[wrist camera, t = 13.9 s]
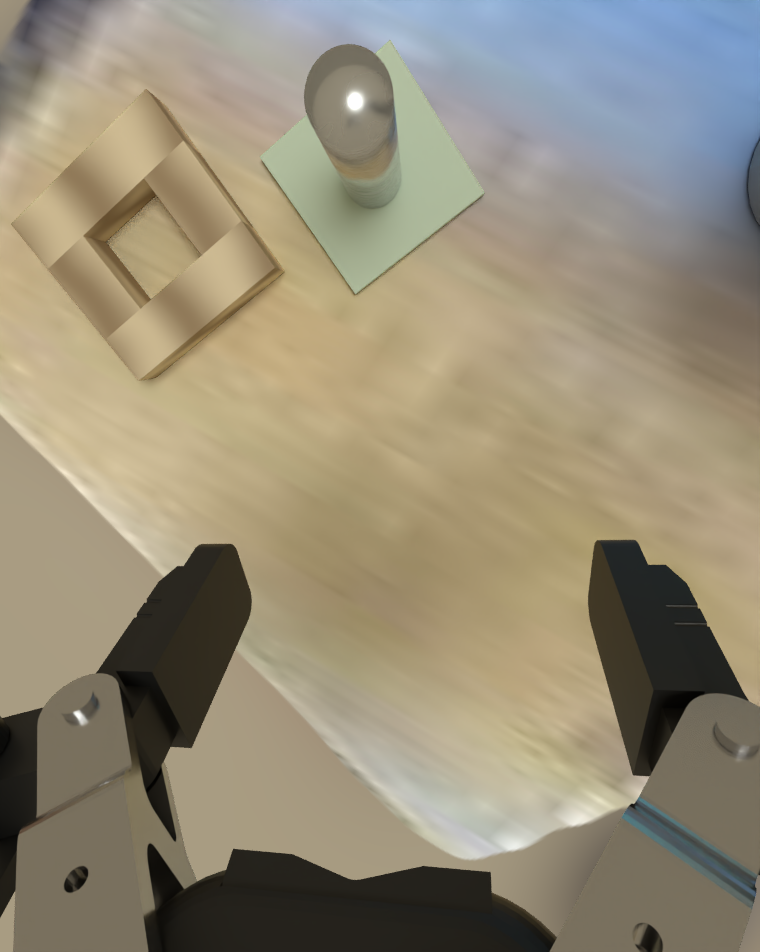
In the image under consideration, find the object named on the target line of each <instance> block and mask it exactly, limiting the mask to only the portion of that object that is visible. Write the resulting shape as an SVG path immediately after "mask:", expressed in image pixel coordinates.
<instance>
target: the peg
mask: <svg viewBox="0 0 760 952" xmlns="http://www.w3.org/2000/svg"><path fill="white" fill-rule="evenodd" d="M304 101H305V109H306V113H307V116H308V119H309V121H310V123H311V125H312V127H313V129H314V131H315V133H316V135H317V136H318V138H319V140H320V142H321V144H322V146H323V148H324V150H325V151H326V153H327V155H328V157H329V159H330V161H331V163H332V164H333V166H334V168H335V170H336V172H337V174H338V176H339V178H340V179H341V181H342V183H343V185H344V187H345V189H346V191H347V193H348V194H349V196H350V197H351V199H352V200H353V201H354V202H355V203H357V204H358V205H360V206H362V207H364V208H369V209H376V208H380V207H383V206H385V205H387V204H388V203H390V202H391V201H392V200H393V199H394V197H395V196H396V194H397V193H398V191H399V188H400V185H401V179H402V172H401V162H400V152H399V143H398V133H397V123H396V113H395V103H394V93H393V86H392V81H391V77H390V75H389V72H388V70H387V68H386V67H385V65H384V63H383V62H382V61H381V59H380V58H379V57H378V56H377V55H376V54H374V53H373V52H372V51H370V50H368V49H367V48H364V47H362V46H358V45H352V44H346V45H340V46H336V47H334V48H331V49H330V50H328V51H326V52H325V53H324V54H323V55H321V56H320V58H319V59H318V60H317V61H316V62H315V64H314V65H313V67H312V68H311V70H310V72H309V75H308V77H307V81H306V85H305V92H304Z"/></svg>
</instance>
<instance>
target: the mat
mask: <svg viewBox="0 0 760 952" xmlns="http://www.w3.org/2000/svg"><path fill="white" fill-rule="evenodd" d="M375 54H376V55H377V56H378V57H379V58H380V59H381V61H382V62H383V63H384V65H385V67H386V68H387V70H388V72H389V75H390V77H391V81H392V86H393V93H394V103H395V113H396V123H397V133H398V143H399V152H400V162H401V172H402V179H401V185H400V188H399V191H398V193H397V194H396V196H395V197H394V199H393V200H392V201H391V202H390V203H388V204H387V205H385V206H383V207H380V208H376V209H369V208H364V207H362V206H360V205H358V204H357V203H355V202H354V201H353V200H352V199H351V197H350V196H349V194H348V193H347V191H346V189H345V187H344V185H343V183H342V181H341V179H340V178H339V176H338V174H337V172H336V170H335V168H334V166H333V164H332V163H331V161H330V159H329V157H328V155H327V153H326V151H325V150H324V148H323V146H322V144H321V142H320V140H319V138H318V136H317V135H316V133H315V131H314V129H313V127H312V125H311V123H310V121H309V119H308V116H307V115H306V116H305V117H304V118H303V119H301V120H300V121H299V122H298V123H297V124H296V125H295V126H294V127H293V128H291V129H290V130H289V131H288V132H287V133H286V134H285V135H284V136H283V137H281V138H280V139H279V140H278V141H277V142H276V143H275V144H274V145H273V146H271V147H270V148H269V149H268V150H267V151H266V152H265V153H264V154H263V155H261V156H260V158H261V159H262V161H263V162H264V164H265V165H266V167H267V168H268V169H269V171H270V172H271V174H272V175H273V177H274V178H275V179H276V181H277V182H278V184H279V185H280V187H281V188H282V190H283V191H284V192H285V194H286V195H287V197H288V198H289V200H290V201H291V202H292V204H293V205H294V207H295V208H296V210H297V211H298V213H299V214H300V215H301V217H302V218H303V220H304V221H305V223H306V224H307V225H308V227H309V228H310V230H311V231H312V233H313V234H314V235H315V237H316V238H317V240H318V241H319V243H320V244H321V246H322V247H323V248H324V250H325V251H326V253H327V254H328V256H329V257H330V258H331V260H332V261H333V263H334V264H335V266H336V267H337V269H338V270H339V271H340V273H341V274H342V276H343V277H344V279H345V280H346V281H347V283H348V284H349V286H350V287H351V289H352V290H353V292H354V293H355V294H357V293H359V292H360V291H361V290H363V289H364V288H365V287H366V286H368V285H369V284H370V283H372V282H373V281H374V280H375V279H377V278H378V277H379V276H381V275H382V274H383V273H384V272H386V271H387V270H388V269H389V268H391V267H392V266H393V265H395V264H396V263H397V262H398V261H400V260H401V259H402V258H404V257H405V256H406V255H407V254H409V253H410V252H411V251H413V250H414V249H415V248H416V247H418V246H419V245H420V244H421V243H423V242H424V241H425V240H427V239H428V238H429V237H430V236H432V235H433V234H434V233H436V232H437V231H438V230H439V229H441V228H442V227H443V226H445V225H446V224H447V223H448V222H450V221H451V220H452V219H453V218H455V217H456V216H457V215H459V214H460V213H461V212H462V211H464V210H465V209H466V208H468V207H469V206H470V205H471V204H473V203H474V202H475V201H477V200H478V199H479V198H480V197H482V196H483V195H484V191H483V189H482V188H481V186H480V185H479V183H478V181H477V180H476V178H475V176H474V175H473V173H472V172H471V170H470V168H469V167H468V165H467V163H466V162H465V160H464V159H463V157H462V155H461V154H460V152H459V151H458V149H457V147H456V146H455V144H454V142H453V141H452V139H451V138H450V136H449V134H448V133H447V131H446V129H445V128H444V126H443V125H442V123H441V121H440V120H439V118H438V116H437V115H436V113H435V112H434V110H433V108H432V107H431V105H430V104H429V102H428V100H427V99H426V97H425V95H424V94H423V92H422V91H421V89H420V87H419V86H418V84H417V82H416V81H415V79H414V78H413V76H412V74H411V73H410V71H409V69H408V68H407V66H406V65H405V63H404V61H403V60H402V58H401V57H400V55H399V53H398V52H397V50H396V48H395V47H394V45H393V44H392V42H391V40H389V41H388V42H387V43H386V44H385V45H384V46H383V47H382V48H380V49H379V50H378V51H377V52H376V53H375Z"/></svg>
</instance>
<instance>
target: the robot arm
mask: <svg viewBox="0 0 760 952" xmlns="http://www.w3.org/2000/svg"><path fill="white" fill-rule="evenodd" d="M748 192H749V200H750V205H751V208H752V211H753V213H754V216H755V219H756V221H757V222H758V223H759V225H760V141H759V143H758V145H757V147H756V149H755V151H754V155H753V158H752V162H751V165H750V169H749V180H748ZM251 604H252V599H251V592H250V589H249V586H248V583H247V580H246V577H245V574H244V571H243V568H242V565H241V562H240V559H239V555H238V552H237V550H236V548H235V547H234V545H232V544H201V545H198V546H197V547H196V548H195V550H194V551H193V553H192V554H191V556H190V557H189V559H188V560H187V562H186V563H185V565H184V566H177V567H176V568H175V569H174V570H172V571H171V572H170V573H169V574H168V575H166V576H165V577H164V578H163V579H162V580H160V581H159V582H158V584H157V585H156V587H155V588H154V590H153V591H152V592H151V594H150V595H149V597H148V598H147V603H144V604H143V606H142V607H141V608H140V610H139V611H138V613H137V617H136V618H134V619H133V620H132V622H131V623H130V625H129V626H128V628H127V629H126V631H125V632H124V633H123V635H122V636H121V638H120V639H119V641H118V642H117V644H116V645H115V646H114V648H113V650H112V651H111V652H110V654H109V655H108V657H107V658H106V660H105V661H104V662H103V664H102V665H101V667H100V668H99V670H98V671H97V673H96V674H90V675H87V676H83V677H81V678H78V679H76V680H74V681H72V682H70V683H69V684H68V685H66V686H64V687H63V688H62V689H60V690H59V691H58V692H57V693H56V694H54V695H53V696H52V697H51V699H50V700H49V701H48V702H47V703H46V705H45V706H44V708H40V709H36V710H32V711H29V712H24V713H20V714H17V715H12V716H9V717H5V718H1V717H0V917H1V915H2V914H3V912H4V910H5V908H6V906H7V904H8V902H9V901H10V899H11V897H12V895H13V893H14V892H16V893H15V918H14V919H15V920H14V947H13V952H738V951H739V948H740V945H741V942H742V939H743V935H744V932H745V929H746V926H747V923H748V920H749V917H750V913H751V910H752V907H753V903H754V899H755V896H756V888H755V883H756V879H757V876H758V875H760V707H758V706H757V705H755V704H753V703H751V702H749V701H748V699H747V697H746V696H745V694H744V692H743V690H742V689H741V687H740V685H739V683H738V681H737V679H736V677H735V675H734V673H733V671H732V669H731V668H730V666H729V664H728V662H727V660H726V658H725V656H724V654H723V652H722V650H721V648H720V646H719V645H718V643H717V641H716V639H715V637H714V635H713V633H712V631H711V629H710V627H707V622H706V620H705V618H704V616H703V614H702V612H701V610H700V609H698V607H697V602H696V601H695V599H694V597H693V595H692V593H691V591H690V589H689V587H688V585H687V583H686V582H685V581H683V580H682V579H681V578H680V577H679V576H678V575H677V574H675V573H674V572H673V571H672V570H671V569H670V568H669V567H667V566H666V565H648V564H647V562H646V559H645V557H644V555H643V553H642V551H641V548H640V546H639V544H638V543H637V541H636V540H597V541H596V542H595V545H594V552H593V560H592V568H591V577H590V585H589V593H588V607H589V616H590V622H591V626H592V630H593V633H594V637H595V640H596V644H597V648H598V651H599V655H600V658H601V662H602V666H603V669H604V673H605V676H606V680H607V684H608V687H609V691H610V694H611V698H612V701H613V705H614V709H615V712H616V716H617V719H618V723H619V727H620V730H621V734H622V737H623V741H624V745H625V748H626V752H627V755H628V759H629V763H630V766H631V770H632V773H633V775H637V776H650V777H649V779H648V781H647V783H646V785H645V787H644V789H643V790H642V792H641V794H640V796H639V798H638V800H637V801H636V802H635V804H631V805H630V806H629V807H628V808H627V810H626V811H625V813H624V815H623V816H622V818H621V820H620V821H619V823H618V825H617V827H616V829H615V831H614V833H613V835H612V836H611V839H610V840H609V842H608V844H607V846H606V848H605V849H604V851H603V853H602V855H601V857H600V859H599V861H598V862H597V864H596V866H595V868H594V870H593V872H592V874H591V876H590V877H589V879H588V881H587V883H586V885H585V887H584V888H583V890H582V892H581V894H580V896H579V898H578V900H577V902H576V903H575V905H574V907H573V909H572V911H571V913H570V915H569V917H568V918H567V920H566V922H565V924H564V926H563V928H562V929H561V932H560V933H559V935H558V937H556V936H555V935H554V934H553V933H552V932H551V931H550V930H549V929H548V928H547V927H546V926H544V925H543V924H542V923H541V922H540V921H539V920H537V919H536V918H535V917H534V916H532V915H531V914H530V913H528V912H527V911H526V910H524V909H523V908H521V907H519V906H518V905H516V904H514V903H513V902H511V901H509V900H508V899H505V898H503V897H500V896H498V895H496V894H494V893H492V891H491V873H490V872H482V871H471V870H460V869H449V868H437V867H427V866H422V867H417V868H413V869H408V870H403V871H398V872H394V873H389V874H384V875H380V876H375V877H371V878H366V879H361V880H351V879H347V878H345V877H343V876H341V875H338V874H336V873H334V872H332V871H329V870H327V869H325V868H322V867H320V866H318V865H316V864H313V863H311V862H309V861H307V860H304V859H302V858H300V857H297V856H295V855H292V854H283V853H272V852H261V851H250V850H238V849H233V851H232V854H231V857H230V860H229V863H228V866H227V869H226V870H225V871H221V872H218V873H216V874H213V875H210V876H207V877H205V878H203V879H201V880H199V881H197V880H196V877H195V874H194V872H193V869H192V867H191V865H190V863H189V860H188V857H187V854H186V850H185V847H184V842H183V838H182V833H181V829H180V824H179V820H178V816H177V811H176V807H175V802H174V797H173V793H172V789H171V784H170V780H169V776H168V771H167V767H166V765H165V763H164V759H165V757H166V755H167V753H168V751H169V749H170V747H184V748H192V746H193V744H194V741H195V739H196V737H197V734H198V732H199V730H200V728H201V725H202V723H203V721H204V718H205V716H206V714H207V712H208V710H209V707H210V705H211V703H212V700H213V698H214V696H215V694H216V692H217V689H218V687H219V685H220V682H221V680H222V678H223V676H224V673H225V671H226V669H227V667H228V664H229V662H230V660H231V658H232V655H233V653H234V651H235V649H236V646H237V644H238V642H239V639H240V637H241V635H242V633H243V630H244V628H245V626H246V624H247V621H248V619H249V616H250V612H251Z"/></svg>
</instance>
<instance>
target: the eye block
mask: <svg viewBox="0 0 760 952" xmlns="http://www.w3.org/2000/svg"><path fill="white" fill-rule="evenodd" d="M155 195H157V196H158V198H159V199H160V200H161V202H162V203H163V204H164V206H165V207H166V208H167V210H168V211H169V212H170V214H171V215H172V216H173V218H174V219H175V220H176V222H177V223H178V224H179V226H180V227H181V228H182V230H183V231H184V232H185V234H186V235H187V237H188V238H189V239H190V241H191V242H192V243H193V245H194V246H195V247H196V249H197V250H198V251H199V253H200V254H201V255H202V256H200V257H199V258H198V259H197V260H196V261H195V262H194V263H192V264H191V265H190V266H189V267H188V268H187V269H186V270H184V271H183V272H182V273H181V274H180V275H179V276H178V277H176V278H175V279H174V280H173V281H172V282H171V283H170V284H168V285H167V286H166V287H165V288H164V289H163V290H162V291H160V292H159V293H158V294H157V295H156V296H155V297H153V298H152V299H150V298H149V297H148V295H147V294H146V293H145V292H144V290H143V289H142V288H141V286H140V285H139V284H138V283H137V281H136V280H135V279H134V277H133V276H132V275H131V274H130V272H129V271H128V270H127V268H126V267H125V266H124V265H123V263H122V262H121V261H120V260H119V258H118V257H117V256H116V254H115V253H114V252H113V251H112V249H111V248H110V247H109V245H108V244H107V243H106V241H107V240H108V239H109V238H110V237H111V236H112V235H113V234H115V233H116V232H117V231H118V230H119V229H120V228H121V227H122V226H123V225H124V224H125V223H126V222H127V221H129V220H130V219H131V218H132V217H133V216H134V215H135V214H136V213H137V212H138V211H139V210H140V209H141V208H142V207H144V206H145V205H146V204H147V203H148V202H149V201H150V200H151V199H152V198H153V197H154V196H155ZM11 225H12V226H13V227H14V228H15V230H16V231H17V232H18V233H19V235H20V236H21V237H22V238H23V240H24V241H25V242H26V243H27V244H28V246H29V247H30V248H31V249H32V251H33V252H34V253H35V254H36V255H37V257H38V258H39V259H40V260H41V262H42V263H43V264H44V265H45V267H46V268H47V269H48V270H49V271H50V273H51V274H52V275H53V276H54V278H55V279H56V280H57V281H58V282H59V284H60V285H61V286H62V287H63V289H64V290H65V291H66V292H67V294H68V295H69V296H70V297H71V298H72V300H73V301H74V302H75V303H76V305H77V306H78V307H79V308H80V310H81V311H82V312H83V313H84V314H85V316H86V317H87V318H88V319H89V321H90V322H91V323H92V324H93V325H94V327H95V328H96V329H97V330H98V332H99V333H100V334H101V335H102V337H103V338H104V339H105V340H106V341H107V343H108V344H109V345H110V346H111V348H112V349H113V350H114V351H115V352H116V354H117V355H118V356H119V357H120V359H121V360H122V361H123V362H124V364H125V365H126V366H127V367H128V368H129V370H130V371H131V372H132V373H133V375H134V376H135V377H136V378H137V379H138V381H140V380H145V379H150V378H155V377H157V376H159V375H160V374H161V373H162V372H163V371H165V370H166V369H167V368H168V367H169V366H171V365H172V364H173V363H174V362H175V361H177V360H178V359H179V358H180V357H182V356H183V355H184V354H185V353H186V352H188V351H189V350H190V349H191V348H192V347H194V346H195V345H196V344H197V343H199V342H200V341H201V340H202V339H203V338H205V337H206V336H207V335H208V334H209V333H211V332H212V331H213V330H214V329H216V328H217V327H218V326H219V325H220V324H222V323H223V322H224V321H225V320H226V319H228V318H229V317H230V316H231V315H232V314H234V313H235V312H236V311H237V310H239V309H240V308H241V307H242V306H243V305H245V304H246V303H247V302H248V301H249V300H251V299H252V298H253V297H254V296H256V295H257V294H258V293H259V292H260V291H262V290H263V289H264V288H265V287H266V286H268V285H269V284H270V283H271V282H273V281H274V280H275V279H276V278H277V277H279V276H280V275H281V274H282V273H283V272H285V271H284V269H283V268H282V267H281V265H280V264H279V263H278V261H277V260H276V258H275V257H274V256H273V254H272V253H271V251H270V250H269V249H268V247H267V246H266V244H265V243H264V242H263V240H262V239H261V237H260V236H259V235H258V233H257V232H256V231H255V229H254V228H253V226H252V225H251V224H250V222H249V221H248V219H247V218H246V217H245V215H244V214H243V212H242V211H241V210H240V208H239V207H238V205H237V204H236V203H235V201H234V200H233V198H232V197H231V196H230V194H229V193H228V192H227V190H226V189H225V187H224V186H223V185H222V183H221V182H220V180H219V179H218V178H217V176H216V175H215V173H214V172H213V171H212V169H211V168H210V166H209V165H208V164H207V162H206V161H205V160H204V158H203V157H202V155H201V154H200V153H199V151H198V150H197V148H196V147H195V146H194V144H193V143H192V141H191V140H190V139H189V137H188V136H187V134H186V133H185V132H184V130H183V129H182V128H181V126H180V125H179V123H178V122H177V121H176V119H175V118H174V116H173V115H172V114H171V112H170V111H169V109H168V108H167V107H166V106H165V105H164V104H163V103H162V102H161V101H160V100H158V99H157V98H156V97H155V96H154V95H153V94H151V93H150V92H149V91H148V90H147V89H146V90H145V91H144V92H143V93H142V94H141V95H140V96H139V97H138V98H137V99H136V100H135V101H134V102H133V103H132V104H131V105H130V106H129V107H128V108H127V109H126V110H125V111H124V112H123V113H122V114H121V115H120V116H119V117H118V118H117V119H116V120H115V121H114V122H113V123H112V124H111V125H109V126H108V127H107V128H106V129H105V130H104V131H103V132H102V133H101V134H100V135H99V136H98V137H97V138H96V139H95V140H94V141H93V142H92V143H91V144H90V145H89V146H88V147H87V148H86V149H85V150H84V151H83V152H82V153H81V154H80V155H79V156H78V157H77V158H76V159H75V160H74V161H73V162H72V163H71V164H70V165H69V166H68V167H67V168H66V169H65V170H64V171H63V172H62V173H61V174H60V175H59V176H58V177H57V178H56V179H55V180H54V181H53V182H52V183H51V184H50V185H49V186H48V187H47V188H46V189H45V190H44V191H43V192H42V193H41V194H40V195H39V196H38V197H37V198H36V199H35V200H34V201H33V202H32V203H31V204H30V205H29V206H28V207H27V208H26V209H25V210H24V211H23V212H22V213H21V214H20V215H19V216H18V217H17V218H16V219H15V220H14V221H13V222H12V223H11Z"/></svg>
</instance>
